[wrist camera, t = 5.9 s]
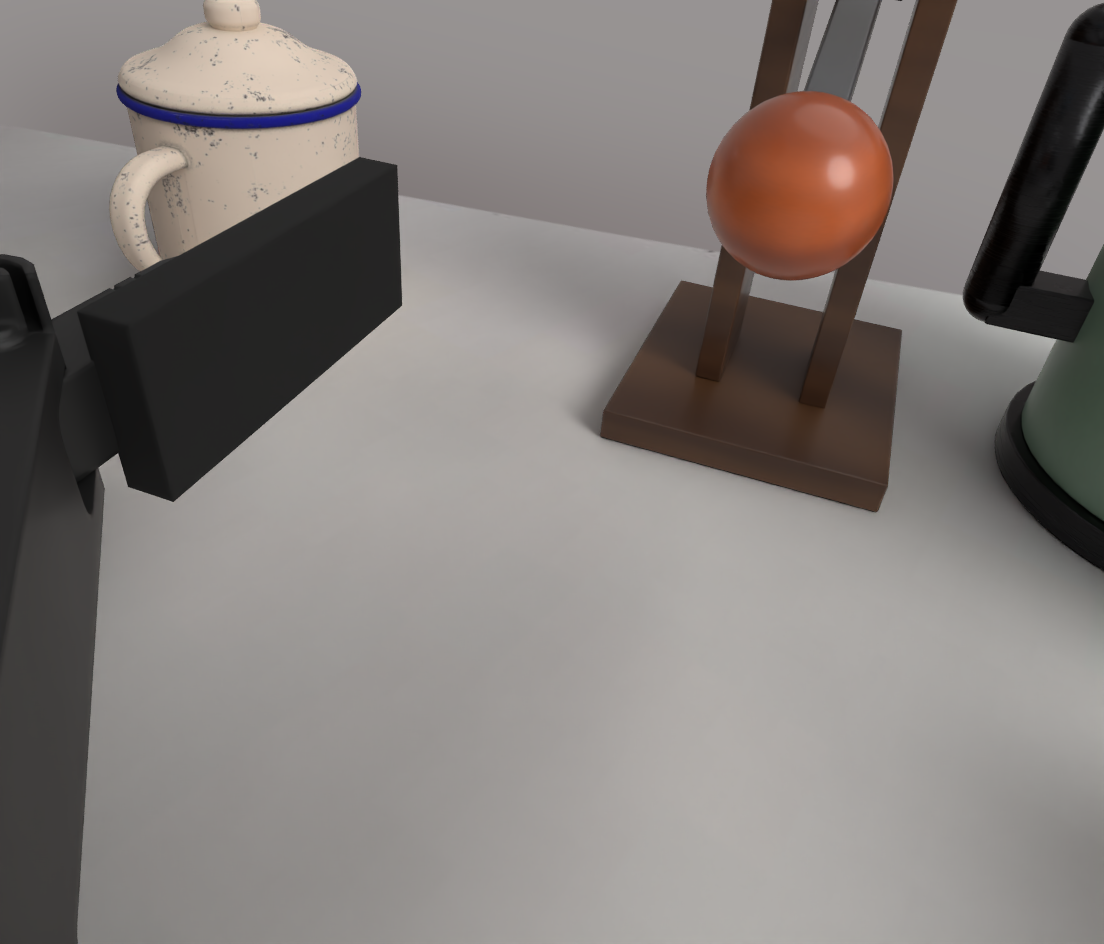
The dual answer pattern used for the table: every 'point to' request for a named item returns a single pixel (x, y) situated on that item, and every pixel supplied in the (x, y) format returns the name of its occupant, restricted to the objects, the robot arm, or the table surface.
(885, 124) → the switch base
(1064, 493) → the kettle
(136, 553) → the table surface
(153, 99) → the teacup with lid
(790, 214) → the switch lever
